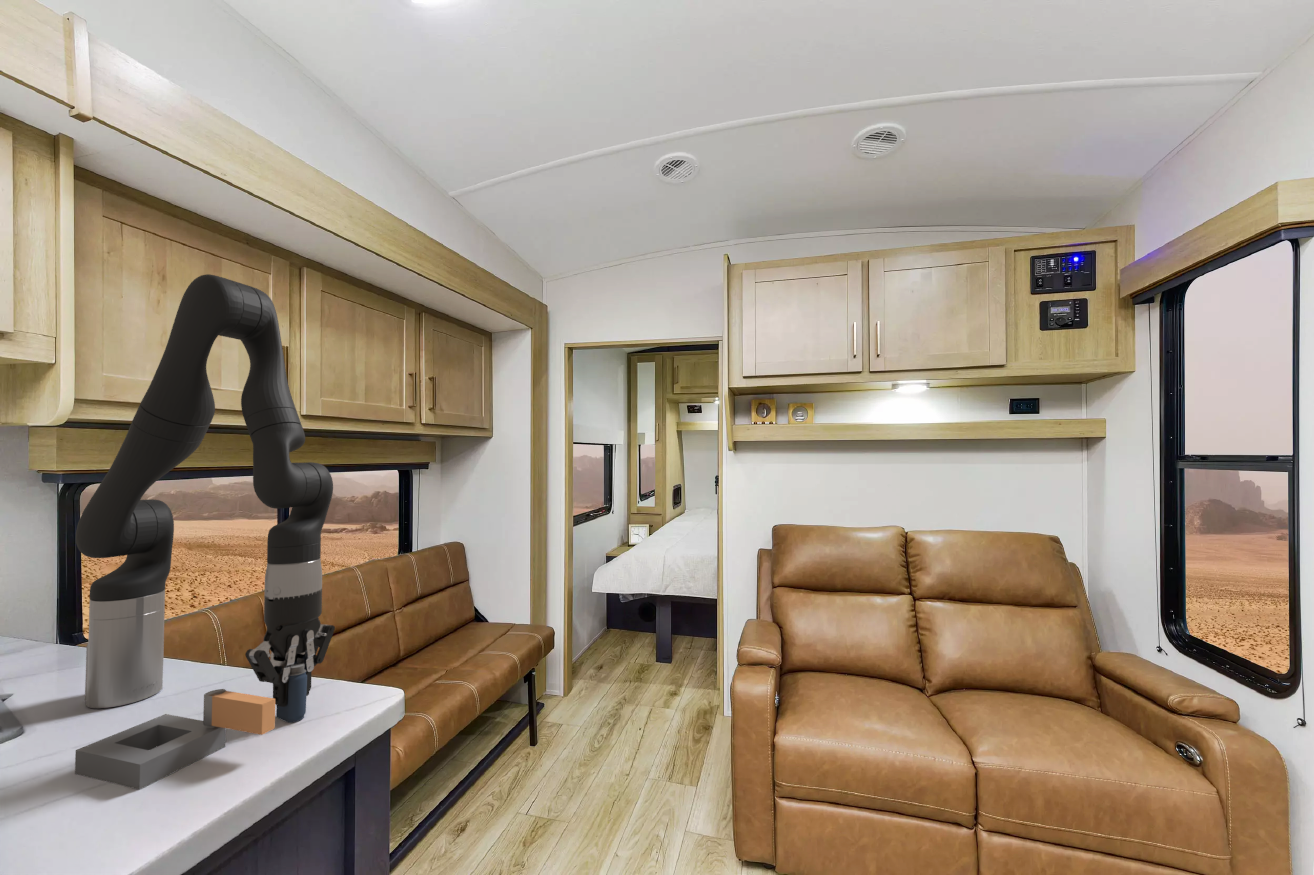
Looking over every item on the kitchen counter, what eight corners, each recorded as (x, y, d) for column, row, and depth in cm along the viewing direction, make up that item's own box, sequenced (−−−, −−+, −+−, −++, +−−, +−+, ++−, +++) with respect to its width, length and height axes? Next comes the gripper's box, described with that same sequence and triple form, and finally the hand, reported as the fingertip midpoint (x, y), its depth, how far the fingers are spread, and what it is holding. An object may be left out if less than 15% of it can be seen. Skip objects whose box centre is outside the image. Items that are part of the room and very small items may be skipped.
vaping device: (290, 710, 86) (293, 634, 86) (308, 718, 83) (311, 639, 84) (272, 716, 83) (275, 638, 84) (290, 725, 81) (294, 644, 82)
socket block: (74, 773, 69) (75, 748, 69) (167, 733, 79) (168, 711, 79) (139, 789, 65) (140, 763, 66) (227, 745, 75) (228, 722, 75)
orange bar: (198, 724, 74) (199, 695, 74) (217, 716, 77) (217, 688, 77) (259, 736, 71) (260, 705, 71) (276, 727, 73) (277, 697, 74)
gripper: (314, 578, 92) (313, 680, 91) (230, 599, 78) (227, 718, 78) (349, 580, 90) (348, 685, 89) (268, 602, 76) (266, 725, 76)
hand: (292, 700), depth 84 cm, fingers closed on vaping device, 2 cm apart
